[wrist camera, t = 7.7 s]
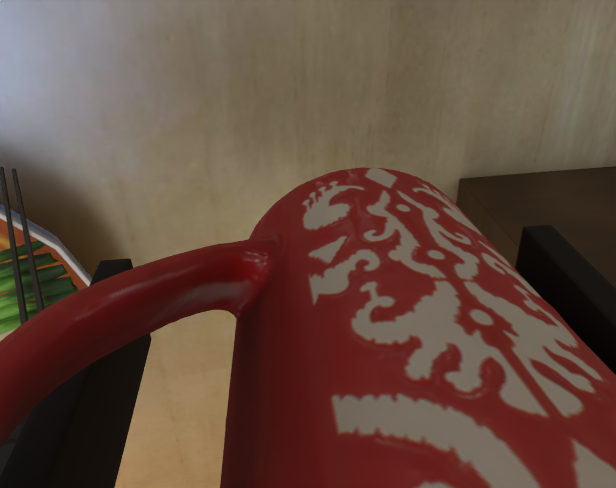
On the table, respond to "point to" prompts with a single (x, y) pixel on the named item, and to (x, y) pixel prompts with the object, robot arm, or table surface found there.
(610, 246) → the riser
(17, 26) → the table surface
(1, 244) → the ramen bowl
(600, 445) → the mug
